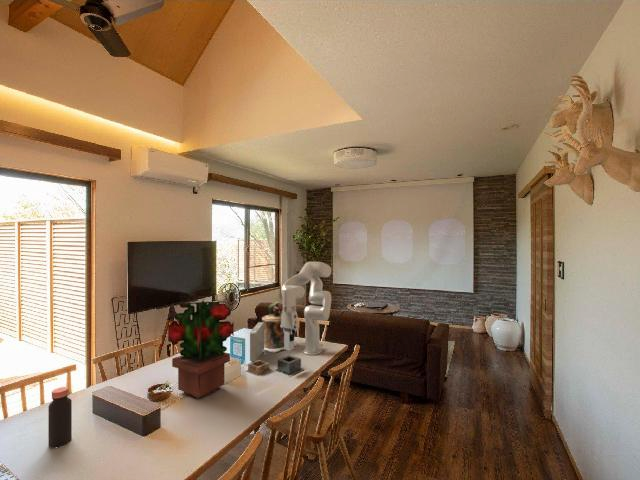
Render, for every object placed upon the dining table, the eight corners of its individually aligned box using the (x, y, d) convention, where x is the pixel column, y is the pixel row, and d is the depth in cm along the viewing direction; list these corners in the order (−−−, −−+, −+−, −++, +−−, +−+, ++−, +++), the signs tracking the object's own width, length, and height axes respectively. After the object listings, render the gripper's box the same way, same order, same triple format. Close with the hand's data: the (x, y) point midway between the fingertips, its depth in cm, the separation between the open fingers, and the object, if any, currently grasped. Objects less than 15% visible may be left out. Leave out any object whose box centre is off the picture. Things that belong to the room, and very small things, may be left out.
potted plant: (205, 377, 176) (204, 296, 176) (233, 387, 165) (233, 300, 165) (168, 394, 157) (168, 303, 157) (197, 406, 146) (197, 308, 146)
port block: (289, 365, 193) (289, 354, 193) (303, 370, 186) (303, 358, 186) (274, 371, 184) (274, 359, 184) (289, 377, 177) (289, 364, 177)
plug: (288, 347, 188) (288, 326, 188) (293, 348, 185) (293, 328, 185) (284, 349, 184) (284, 328, 185) (289, 350, 182) (289, 329, 182)
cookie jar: (251, 346, 229) (251, 302, 229) (276, 338, 248) (276, 297, 248) (274, 354, 213) (274, 306, 213) (299, 345, 232) (299, 301, 232)
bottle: (47, 442, 120) (47, 389, 120) (70, 434, 125) (70, 383, 125) (49, 451, 115) (49, 395, 115) (72, 442, 120) (72, 389, 120)
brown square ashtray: (259, 366, 191) (259, 358, 191) (272, 371, 185) (272, 362, 185) (244, 372, 183) (244, 364, 183) (257, 377, 176) (257, 368, 176)
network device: (259, 365, 194) (259, 332, 194) (245, 364, 195) (245, 332, 195) (267, 350, 220) (267, 321, 220) (254, 350, 220) (254, 321, 220)
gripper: (304, 309, 183) (304, 341, 183) (283, 305, 193) (283, 336, 193) (295, 311, 177) (295, 344, 177) (274, 307, 187) (274, 338, 187)
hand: (289, 339), depth 185 cm, fingers closed on plug, 4 cm apart
